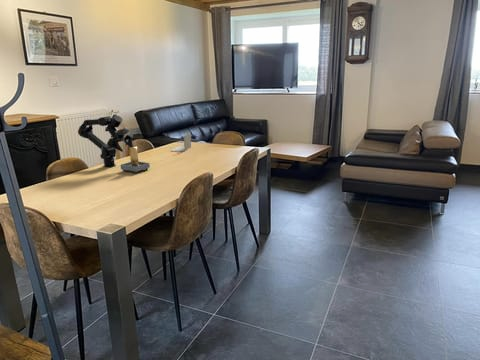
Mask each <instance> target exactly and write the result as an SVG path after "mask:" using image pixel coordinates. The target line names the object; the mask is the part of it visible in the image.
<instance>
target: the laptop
mask: <svg viewBox="0 0 480 360" xmlns="http://www.w3.org/2000/svg"><path fill="white" fill-rule="evenodd" d="M191 138H192V137H191V132H188V133H186V134H185V135H183V144H184V145H183V146H178V145H177V146H176V147H174V148H173V149H170V152H179V153H180V152H184V153H185V152H186V151H188V150H189V149H191V148H192V144H191V143H192V142H191V141H192V140H191Z"/></svg>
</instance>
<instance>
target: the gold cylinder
mask: <svg viewBox="0 0 480 360" xmlns="http://www.w3.org/2000/svg"><path fill="white" fill-rule="evenodd" d="M128 147H129V146H128ZM129 157H130V162H131V166H134V167H137V166H139V162H140V161H139V153H138V147H137V146H133V147H129Z"/></svg>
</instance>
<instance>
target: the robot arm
mask: <svg viewBox="0 0 480 360" xmlns="http://www.w3.org/2000/svg"><path fill="white" fill-rule="evenodd" d="M122 122H123V118H122V117H121V116H119V115H117V114H116V113H115V114H113V115H112V116H103V117H100V118H99V117H98V118H95V119H85V120H83V122H82V123H81V125H80V126H79V128H78V130H77V134H78V136H79V137H81V138H83V139H87V140H88V141H90V142H91V143H93V144H94V146H96V147H97V148H99V149H100V151H101V154H100V156H99V157H100V159H102V160H103V165H102V168H112V167H115V166H117V164H115V159H114V157H116V154H117V151H120V152H122V153H123V152H124V150H123V148H122V146H120V142H125V144H126V145H127V146H128V147H134V144H133V139H134V137H135V136H134V135H133V134H128V132H130V130H129V128H128V127H123V128H120V129H118V128H119V127H120V125H122ZM96 125H99V126H101V127H105V132H108V133H109V134H110V138H109V139H108V141H107V142H106V143H105V141H103V140H101V139H100V138H99V137H98V136H97V135H95V134H94V133H93V132H94V131H93V128H94V127H93V126H96Z"/></svg>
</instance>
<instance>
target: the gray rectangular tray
mask: <svg viewBox="0 0 480 360" xmlns="http://www.w3.org/2000/svg"><path fill="white" fill-rule="evenodd" d="M119 165H120V170H122V171H123V172H127V171H129V172H133V173H134V174H138V173H139V171H143V170H145V171H146V170H149V168H150V167H151V166H150V162H144V161H139V166H137V167H134V166H131V161H128V162H125V163H122V164H119Z"/></svg>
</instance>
